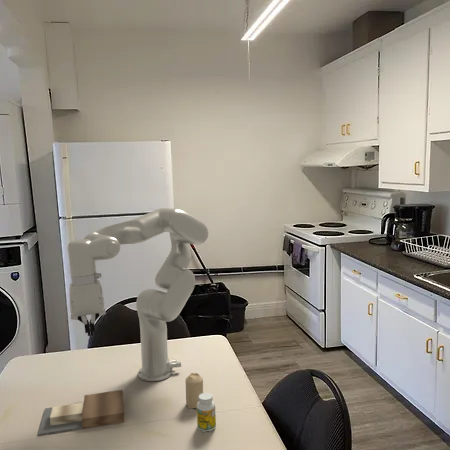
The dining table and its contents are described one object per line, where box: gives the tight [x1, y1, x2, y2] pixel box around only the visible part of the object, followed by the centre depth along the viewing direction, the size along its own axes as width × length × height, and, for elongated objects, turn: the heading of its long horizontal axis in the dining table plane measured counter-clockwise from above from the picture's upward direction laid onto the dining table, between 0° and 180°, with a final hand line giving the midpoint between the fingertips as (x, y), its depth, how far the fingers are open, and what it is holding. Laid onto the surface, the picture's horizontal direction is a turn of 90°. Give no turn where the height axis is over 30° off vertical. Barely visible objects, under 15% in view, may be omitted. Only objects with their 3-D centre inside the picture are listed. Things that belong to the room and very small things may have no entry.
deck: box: [81, 389, 126, 430], centre depth 135 cm, size 12×14×3 cm
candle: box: [185, 372, 204, 409], centre depth 138 cm, size 6×6×10 cm
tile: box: [50, 402, 84, 426], centre depth 132 cm, size 9×6×2 cm, turn 104°
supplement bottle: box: [196, 392, 217, 432], centre depth 126 cm, size 5×5×10 cm
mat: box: [37, 406, 83, 437], centre depth 132 cm, size 12×14×1 cm
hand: (90, 334), depth 139 cm, fingers closed
